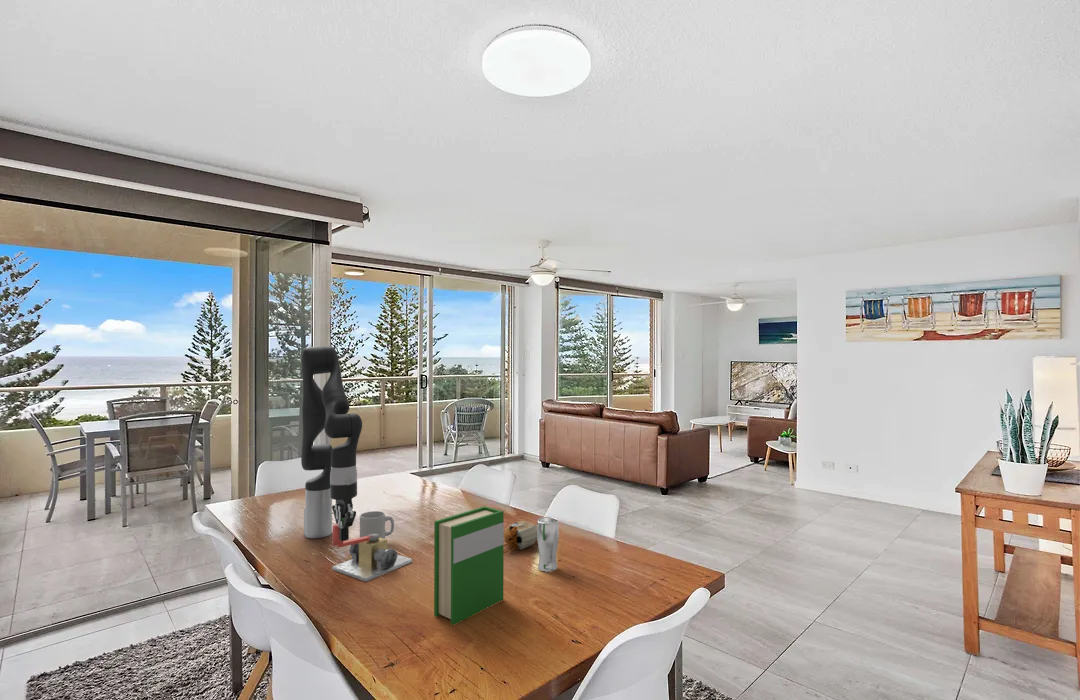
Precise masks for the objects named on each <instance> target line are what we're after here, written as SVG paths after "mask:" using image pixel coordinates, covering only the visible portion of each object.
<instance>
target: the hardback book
mask: <svg viewBox="0 0 1080 700" xmlns="http://www.w3.org/2000/svg"><path fill="white" fill-rule="evenodd" d="M504 517H505V516H504V510H500V509H497V508H492V507H489V506H486V505H484V506H482V507H478V508H477V507H476V508H474V509H471V510H467V511H463V512H460V513H456V514H455V515H451V516H447V517H444V518H443V517H442V518H441V519H437V520H434V529H433V530H434V534H433V535H434V536H433V537H434V541H433V542H434V546H433V547H434V548H433V549H434V551H433V552H434V553H433V555H434V559H433V560H434V562H433V563H434V564H433V565H434V566H433V568H434V569H433V571H434V572H433V574H434V575H433V576H434V577H433V579H434V580H433V582H434V583H433V585H434V586H433V587H434V588H433V589H434V591H433V592H434V593H433V598H434V599H433V603H434V604H433V615H434V617H435V616H436V617H435V618H438V617H439V615H440V616H443V617H444V618H448V619H450V625H451V624H452V626H455V625H457V624H459V623H461V622H463V621H465V620H467V619H469V618H471V617H472V615H473V616H474V614H475V615H476V613H477V614H479V613H481V612H483V611H484V610H483V609H485V610H487V609H488V608H487V607H489V608H491V607H492V606H491V605H493V604H495V603H497V602H499V601H501V600H503V601H504V559H505V558H504V555H505V554H504V552H505V551H504V550H505V549H504V548H505V546H504V545H505V543H504V542H505V541H504V530H505V528H504V523H505V521H504V519H505V518H504ZM501 602H502V601H501ZM499 603H500V602H499ZM497 604H498V603H497ZM495 605H496V604H495ZM490 606H491V607H490ZM493 606H494V605H493ZM486 608H487V609H486ZM482 610H483V611H482ZM480 611H481V612H480ZM478 612H479V613H478ZM437 616H438V617H437ZM470 616H471V617H470ZM468 617H469V618H468ZM466 618H467V619H466ZM464 619H465V620H464ZM462 620H463V621H462ZM460 621H461V622H460ZM458 622H459V623H458ZM456 623H457V624H456ZM454 624H455V625H454Z"/></svg>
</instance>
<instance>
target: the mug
mask: <svg viewBox="0 0 1080 700" xmlns="http://www.w3.org/2000/svg"><path fill="white" fill-rule="evenodd" d="M388 521H389V522H390V529H389V530H386V522H388ZM394 529H395V520H394V518H393V517H392V516H390V515H386V514H385V512H383V511H379V510H378V511H377V510H373V511H366V512H364V513H361V514H360V515H359V538H360V537H365V536H368V535H370V534H379V537H380V538H384V539H386V537H387V536H388V537H389V536H390V535H392V533H393V532H394Z"/></svg>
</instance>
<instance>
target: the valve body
mask: <svg viewBox="0 0 1080 700" xmlns="http://www.w3.org/2000/svg"><path fill="white" fill-rule="evenodd" d="M349 555H350V556H351V559H349V560H346V561H344V562H340V563H337V564H336V565H333V566H332V567H331V568H332V569H331V570H332V571H335V572H338V573H341V574H343V575H346V576H349V577H351V578H353V579H357V580H360V581H362V582H363V583H365V582H369V581H371V580H374V579H375V578H378V577H380V576H383V575H385V574H387V573H389V572H392V571H395V570H397V569H399V568H402V567H404V566H406V565H409V564H411V563H413V558H410V557H406V556H403V555H400V554H398V552H397V551H396V549H394V548H389V547H388V539H386V538H385V539H384V538H380V537H379V540H377V541H366V542H361V543H357V544H353V545H349Z"/></svg>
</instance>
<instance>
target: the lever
mask: <svg viewBox="0 0 1080 700" xmlns="http://www.w3.org/2000/svg"><path fill="white" fill-rule="evenodd" d="M339 528H340V527H338V524H336V523H335V524H332V545H333V546H336V547H337V548H344V547H348V546H349V547H350V546H351V545H353V544H357V543H361V542H366V541H377V540H379V534H370V535H368V536H365V537H360V536H359V537H356V538H352V539H348V540H346V541H341V540H340V539H339Z"/></svg>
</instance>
